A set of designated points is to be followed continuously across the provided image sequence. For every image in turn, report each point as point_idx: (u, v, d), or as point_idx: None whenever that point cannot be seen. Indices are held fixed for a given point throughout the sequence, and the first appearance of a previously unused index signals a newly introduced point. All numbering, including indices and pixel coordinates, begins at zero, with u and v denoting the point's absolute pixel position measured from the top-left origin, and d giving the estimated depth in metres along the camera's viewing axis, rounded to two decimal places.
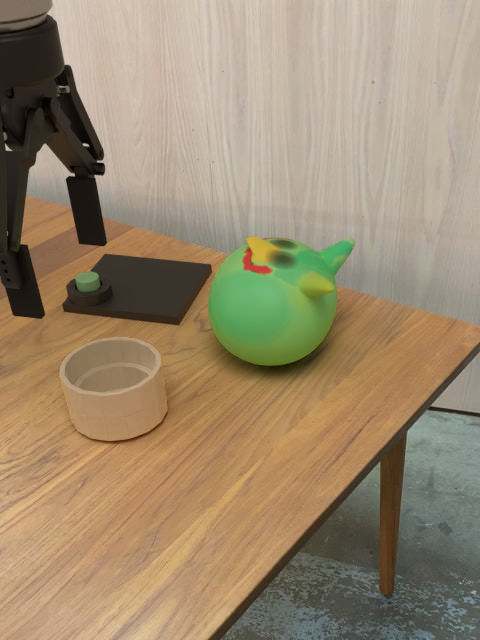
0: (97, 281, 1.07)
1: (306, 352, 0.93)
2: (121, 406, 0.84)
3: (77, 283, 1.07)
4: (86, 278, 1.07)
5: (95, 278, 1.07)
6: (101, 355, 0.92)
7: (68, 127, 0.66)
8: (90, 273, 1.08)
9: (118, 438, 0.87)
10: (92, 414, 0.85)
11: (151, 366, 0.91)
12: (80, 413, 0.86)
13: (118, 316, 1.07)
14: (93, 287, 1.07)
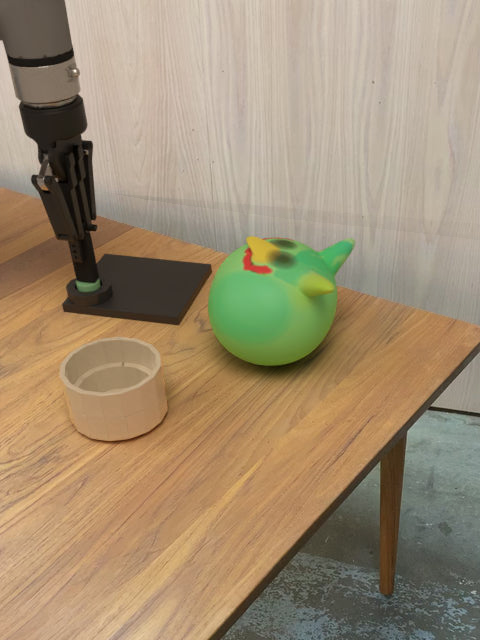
0: (98, 284, 1.08)
1: (306, 352, 0.93)
2: (121, 406, 0.84)
3: (78, 286, 1.07)
4: (87, 282, 1.07)
5: (96, 282, 1.07)
6: (101, 355, 0.92)
7: (83, 175, 0.99)
8: None
9: (118, 438, 0.87)
10: (92, 414, 0.85)
11: (151, 366, 0.91)
12: (80, 413, 0.86)
13: (118, 316, 1.07)
14: (94, 290, 1.07)
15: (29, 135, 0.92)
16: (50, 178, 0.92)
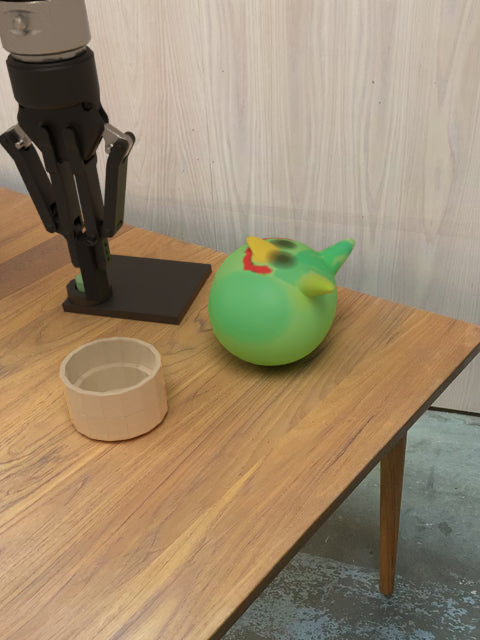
0: None
1: (306, 352, 0.93)
2: (121, 406, 0.84)
3: (77, 283, 1.07)
4: None
5: None
6: (101, 355, 0.92)
7: (76, 170, 0.72)
8: None
9: (118, 438, 0.87)
10: (92, 414, 0.85)
11: (151, 366, 0.91)
12: (80, 413, 0.86)
13: (118, 316, 1.07)
14: None
15: None
16: (1, 136, 0.72)
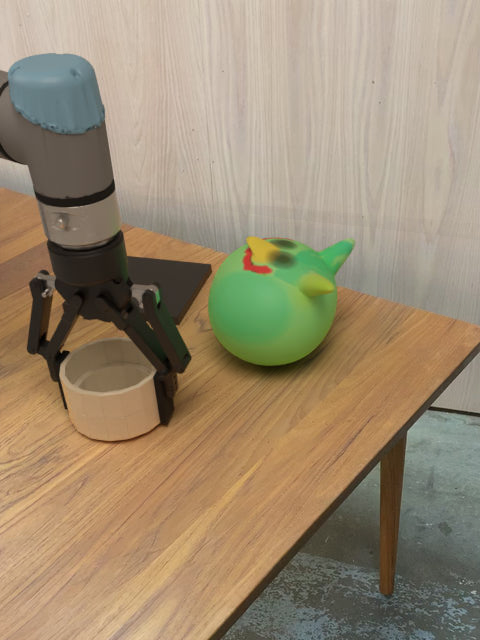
0: None
1: (306, 352, 0.93)
2: (121, 406, 0.84)
3: None
4: None
5: None
6: (101, 355, 0.92)
7: (121, 325, 0.81)
8: None
9: (118, 438, 0.87)
10: (92, 414, 0.85)
11: (151, 366, 0.91)
12: (80, 413, 0.86)
13: None
14: None
15: None
16: (33, 282, 0.80)
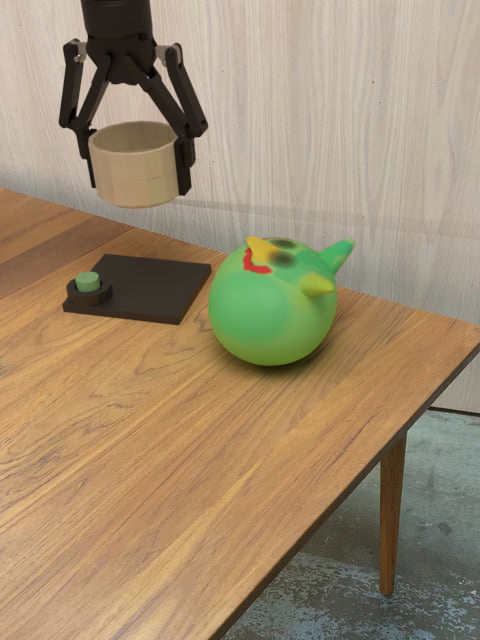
0: (97, 281, 1.07)
1: (306, 352, 0.93)
2: (144, 168, 0.93)
3: (77, 283, 1.07)
4: (86, 278, 1.07)
5: (95, 278, 1.07)
6: (125, 139, 1.00)
7: (145, 86, 0.89)
8: (90, 273, 1.08)
9: (141, 204, 0.96)
10: (118, 177, 0.94)
11: None
12: (107, 178, 0.94)
13: (118, 316, 1.07)
14: (93, 287, 1.07)
15: None
16: (67, 45, 0.89)
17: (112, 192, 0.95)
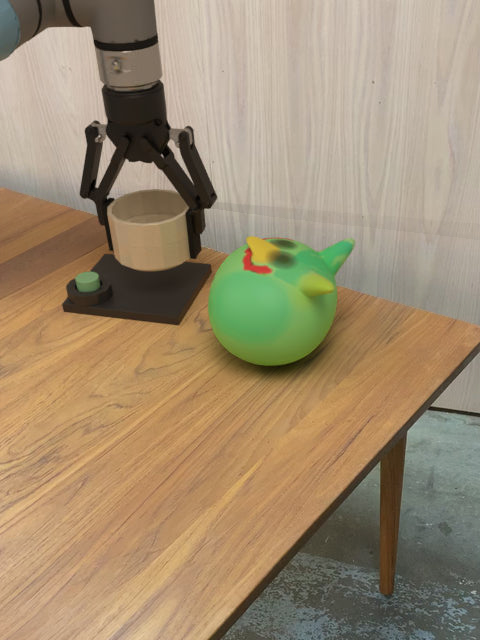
0: (97, 281, 1.07)
1: (306, 352, 0.93)
2: (159, 236, 1.02)
3: (77, 283, 1.07)
4: (86, 278, 1.07)
5: (95, 278, 1.07)
6: (140, 205, 1.09)
7: (160, 164, 0.98)
8: (90, 273, 1.08)
9: (156, 268, 1.05)
10: (135, 244, 1.02)
11: None
12: (124, 245, 1.03)
13: (118, 316, 1.07)
14: (93, 287, 1.07)
15: None
16: (88, 128, 0.98)
17: (129, 257, 1.04)
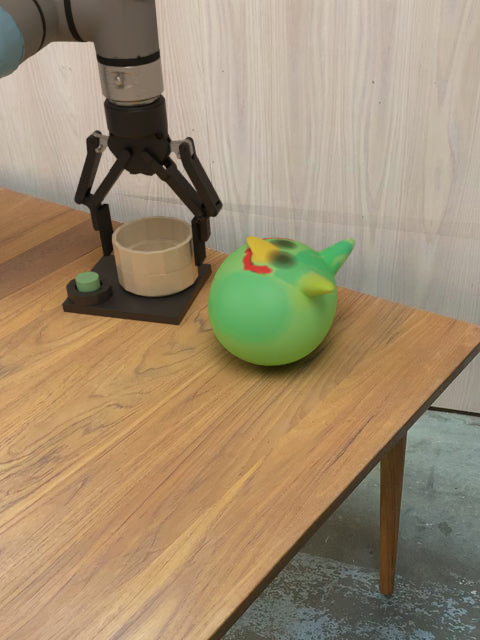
0: (97, 281, 1.07)
1: (306, 352, 0.93)
2: (162, 264, 1.04)
3: (77, 283, 1.07)
4: (86, 278, 1.07)
5: (95, 278, 1.07)
6: (143, 231, 1.12)
7: (163, 175, 0.99)
8: (90, 273, 1.08)
9: (159, 294, 1.07)
10: (139, 271, 1.05)
11: (184, 240, 1.11)
12: (129, 272, 1.06)
13: (118, 316, 1.07)
14: (93, 287, 1.07)
15: None
16: (90, 138, 0.99)
17: (133, 283, 1.07)
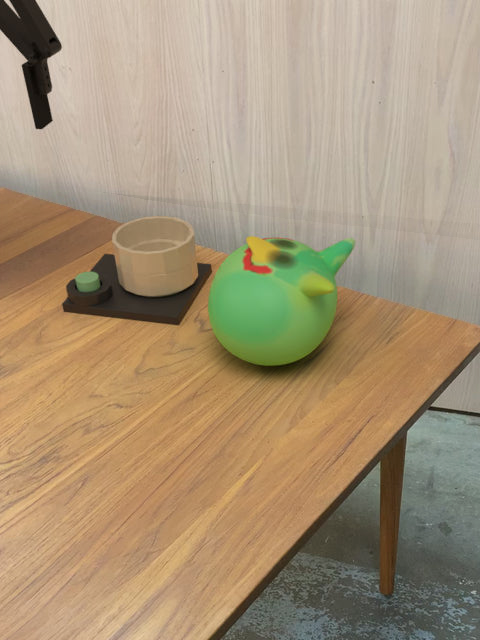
0: (97, 281, 1.07)
1: (306, 352, 0.93)
2: (162, 264, 1.04)
3: (77, 283, 1.07)
4: (86, 278, 1.07)
5: (95, 278, 1.07)
6: (143, 231, 1.12)
7: None
8: (90, 273, 1.08)
9: (159, 294, 1.07)
10: (139, 271, 1.05)
11: (184, 240, 1.11)
12: (129, 272, 1.06)
13: (118, 316, 1.07)
14: (93, 287, 1.07)
15: None
16: None
17: (133, 283, 1.07)
